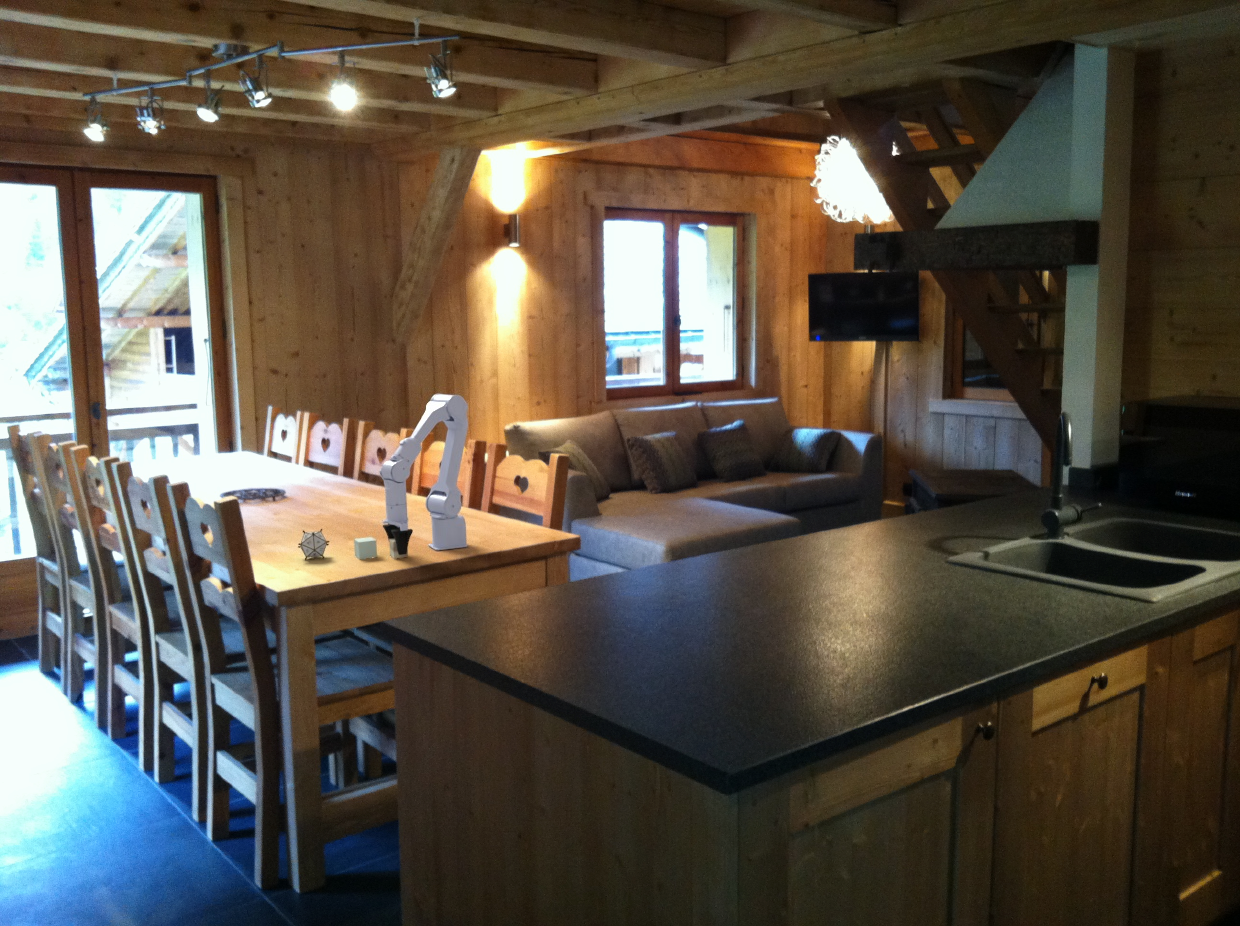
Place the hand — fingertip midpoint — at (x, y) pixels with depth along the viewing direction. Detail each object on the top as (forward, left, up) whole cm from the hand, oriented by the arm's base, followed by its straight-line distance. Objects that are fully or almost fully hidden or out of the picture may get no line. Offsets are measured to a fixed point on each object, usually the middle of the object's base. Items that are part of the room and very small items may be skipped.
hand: (398, 551), depth 302 cm
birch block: (0, 0, -2) cm, 2 cm away
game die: (+21, -11, -2) cm, 24 cm away
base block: (+8, -5, -2) cm, 10 cm away
